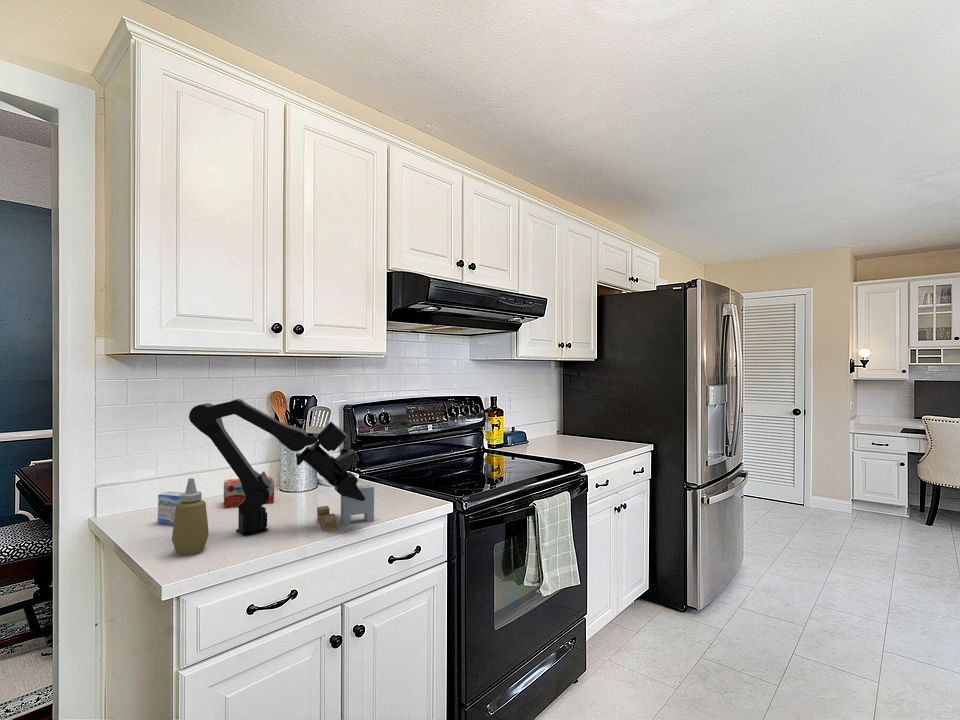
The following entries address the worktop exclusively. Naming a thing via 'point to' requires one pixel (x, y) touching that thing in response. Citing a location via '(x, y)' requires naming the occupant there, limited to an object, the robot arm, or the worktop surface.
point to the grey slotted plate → (358, 505)
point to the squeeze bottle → (190, 522)
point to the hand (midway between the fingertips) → (360, 496)
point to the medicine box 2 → (239, 493)
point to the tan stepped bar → (326, 519)
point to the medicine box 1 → (167, 507)
